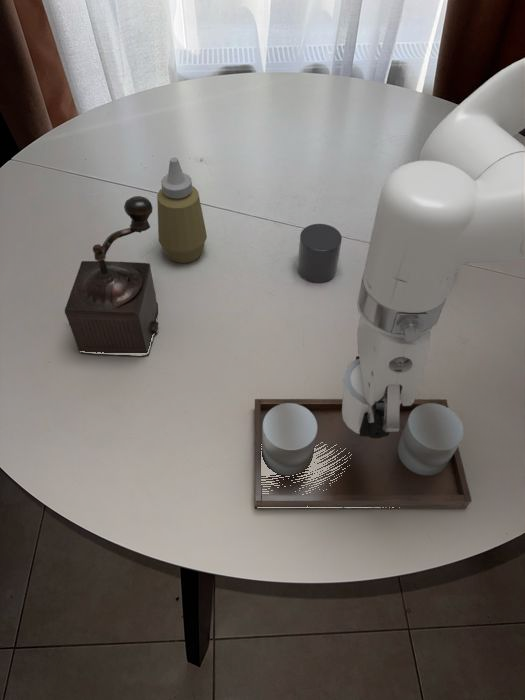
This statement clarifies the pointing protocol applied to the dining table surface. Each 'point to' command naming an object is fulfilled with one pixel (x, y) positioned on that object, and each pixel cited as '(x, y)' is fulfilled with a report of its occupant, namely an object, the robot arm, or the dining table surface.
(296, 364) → the dining table surface
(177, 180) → the squeeze bottle
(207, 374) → the dining table surface
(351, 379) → the white cup
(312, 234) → the grey cylinders
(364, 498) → the tray
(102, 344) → the manual coffee grinder
